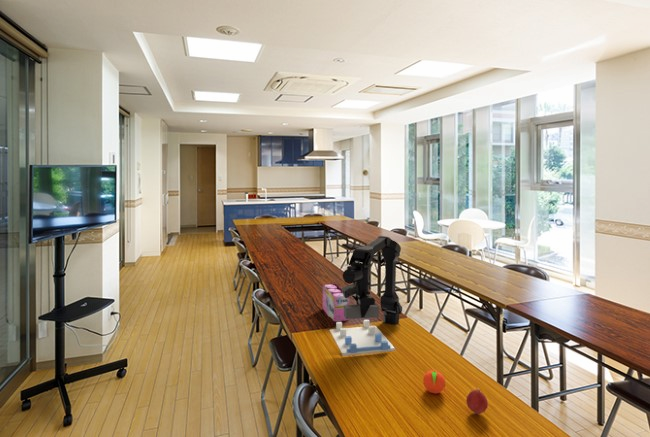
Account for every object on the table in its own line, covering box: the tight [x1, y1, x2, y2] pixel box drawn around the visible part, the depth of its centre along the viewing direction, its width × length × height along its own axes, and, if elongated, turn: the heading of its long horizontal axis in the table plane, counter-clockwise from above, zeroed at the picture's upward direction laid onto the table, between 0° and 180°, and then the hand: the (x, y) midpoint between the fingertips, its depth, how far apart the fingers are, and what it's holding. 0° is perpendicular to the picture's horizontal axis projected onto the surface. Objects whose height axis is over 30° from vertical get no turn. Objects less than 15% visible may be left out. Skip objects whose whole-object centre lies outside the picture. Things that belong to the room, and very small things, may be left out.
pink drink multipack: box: [322, 282, 350, 322], centre depth 195 cm, size 24×8×14 cm, turn 15°
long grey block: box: [344, 303, 380, 320], centre depth 160 cm, size 14×4×4 cm, turn 100°
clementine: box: [422, 369, 446, 394], centre depth 124 cm, size 8×7×7 cm
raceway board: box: [329, 319, 396, 357], centre depth 164 cm, size 22×25×4 cm
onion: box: [466, 388, 489, 416], centre depth 113 cm, size 6×6×8 cm
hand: (361, 315), depth 160 cm, fingers closed on long grey block, 4 cm apart
